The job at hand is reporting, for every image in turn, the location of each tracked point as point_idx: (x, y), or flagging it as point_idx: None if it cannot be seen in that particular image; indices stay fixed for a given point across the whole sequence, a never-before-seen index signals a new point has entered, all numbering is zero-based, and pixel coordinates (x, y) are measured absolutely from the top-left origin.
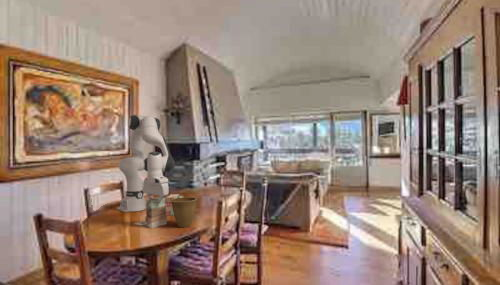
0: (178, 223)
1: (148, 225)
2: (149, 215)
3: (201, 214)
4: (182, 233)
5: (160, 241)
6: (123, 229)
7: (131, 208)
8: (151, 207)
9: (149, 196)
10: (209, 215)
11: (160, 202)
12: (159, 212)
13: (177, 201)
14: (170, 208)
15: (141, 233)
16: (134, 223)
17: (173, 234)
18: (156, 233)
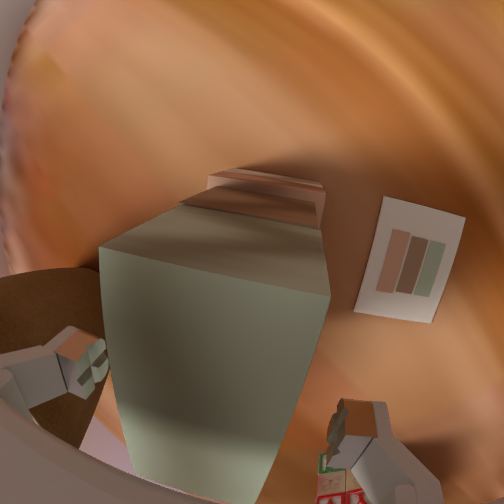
0: (76, 270)
1: (275, 175)
2: (251, 194)
3: None
4: (20, 181)
5: (34, 39)
6: (423, 62)
7: None
8: (170, 211)
9: (383, 475)
10: None
11: (68, 332)
12: None
13: (73, 438)
14: (342, 482)
15: (206, 39)
16: (462, 221)
17: (37, 143)
18: (115, 96)
